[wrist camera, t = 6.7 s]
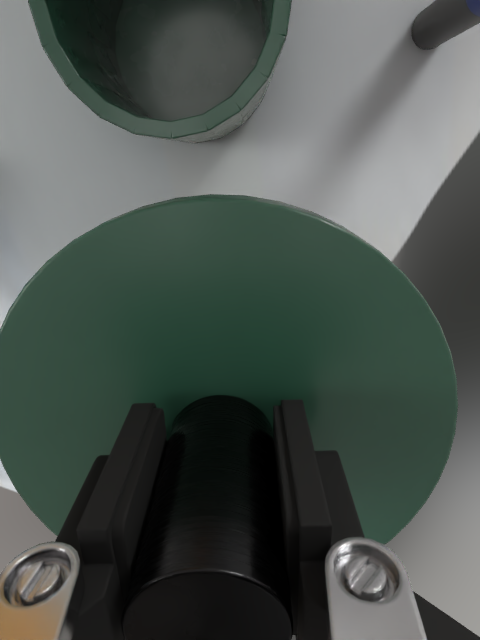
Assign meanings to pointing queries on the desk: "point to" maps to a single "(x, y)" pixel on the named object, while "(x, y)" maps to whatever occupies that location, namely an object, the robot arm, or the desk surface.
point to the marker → (444, 21)
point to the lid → (223, 393)
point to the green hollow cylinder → (166, 60)
